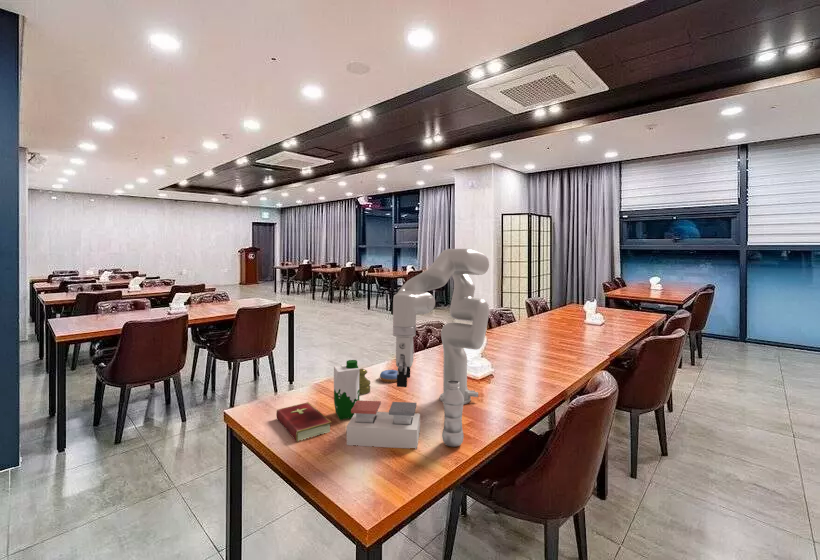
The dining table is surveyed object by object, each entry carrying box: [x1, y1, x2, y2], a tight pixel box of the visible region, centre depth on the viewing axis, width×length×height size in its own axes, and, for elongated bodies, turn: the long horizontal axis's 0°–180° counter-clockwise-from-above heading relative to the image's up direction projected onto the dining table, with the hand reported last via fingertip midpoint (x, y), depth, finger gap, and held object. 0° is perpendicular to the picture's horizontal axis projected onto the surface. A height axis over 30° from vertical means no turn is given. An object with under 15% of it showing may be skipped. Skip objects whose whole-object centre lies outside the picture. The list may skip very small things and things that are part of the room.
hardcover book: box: [276, 401, 332, 442], centre depth 134 cm, size 12×21×4 cm, turn 36°
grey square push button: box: [388, 401, 417, 425], centre depth 124 cm, size 8×8×6 cm
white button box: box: [346, 411, 421, 450], centre depth 125 cm, size 22×12×6 cm, turn 84°
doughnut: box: [379, 369, 398, 383], centre depth 182 cm, size 10×10×5 cm
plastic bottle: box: [441, 380, 465, 448], centre depth 120 cm, size 6×7×20 cm
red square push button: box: [351, 399, 382, 423], centre depth 125 cm, size 8×8×6 cm
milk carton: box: [333, 359, 361, 421], centre depth 142 cm, size 9×9×20 cm
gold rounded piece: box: [359, 368, 371, 395], centre depth 166 cm, size 7×7×10 cm
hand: (403, 381), depth 128 cm, fingers open, 9 cm apart
